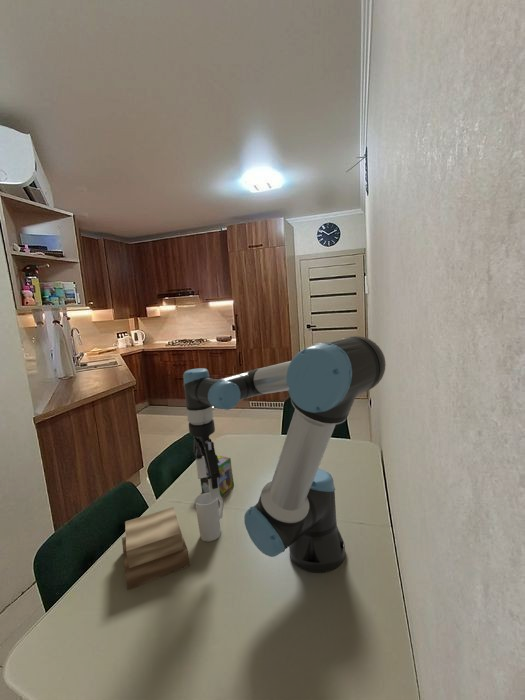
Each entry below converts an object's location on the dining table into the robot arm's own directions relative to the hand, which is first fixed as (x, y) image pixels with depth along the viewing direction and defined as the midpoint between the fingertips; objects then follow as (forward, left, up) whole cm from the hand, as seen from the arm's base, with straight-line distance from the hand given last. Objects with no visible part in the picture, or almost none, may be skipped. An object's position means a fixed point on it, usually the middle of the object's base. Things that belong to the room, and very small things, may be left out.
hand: (208, 487), depth 106 cm
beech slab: (-2, +18, -10) cm, 21 cm away
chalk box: (+24, -9, -15) cm, 30 cm away
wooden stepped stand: (-2, +18, -15) cm, 24 cm away
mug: (0, 0, -15) cm, 15 cm away
